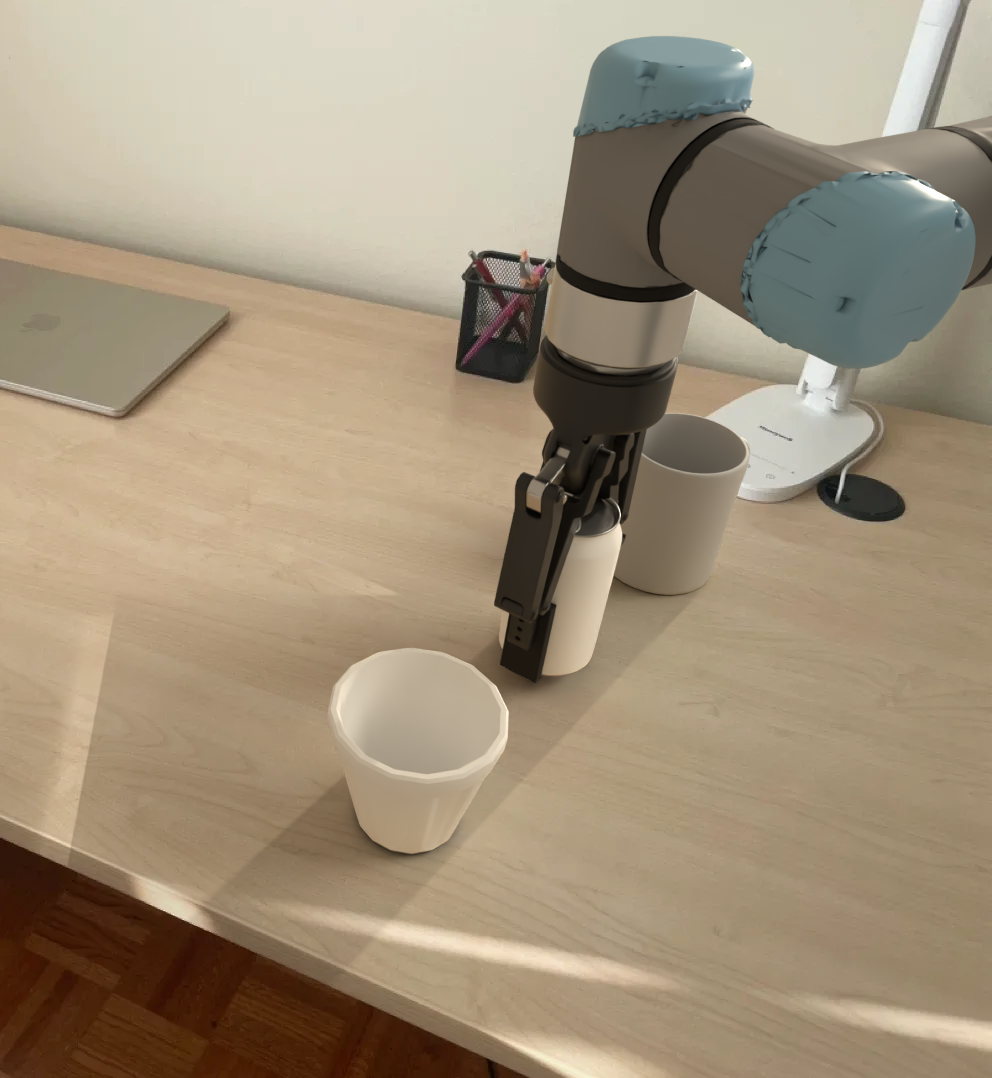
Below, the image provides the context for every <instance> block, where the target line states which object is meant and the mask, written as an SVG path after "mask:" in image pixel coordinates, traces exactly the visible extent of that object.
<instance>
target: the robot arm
mask: <svg viewBox="0 0 992 1078" xmlns="http://www.w3.org/2000/svg"><path fill="white" fill-rule="evenodd" d="M754 76H755V67H754V63H753V62H752V60H751V59H750V58H749V56H747V55H745V54H744V53H743V52H742V51H741V50H740V49H739V48H736V47H735V46H732V45H729V44H726V43H723V42H719V41H716V40H715V41H714V40H710V39H705V38H699V37H698V38H697V37H690V36H689V37H688V36H675V35H650V36H641V37H634V38H628V39H623V40H620V41H617V42H615V43H612V44H610V45H609V46H606V48H605V49H603V50H602V51H601V52H600V53H599V54H598V55H597V56H596V58H595V59H594V61H593V63H592V65H591V67H590V70H589V75H588V78H587V83H586V86H585V90H584V94H583V99H582V103H581V104H582V105H581V108H580V112H579V116H578V120H577V124H576V126H575V127H574V128H573V131H572V132H573V133H572V137H574V141H573V148H572V155H571V160H570V168H569V174H568V179H567V184H566V185H567V186H566V192H565V198H564V205H563V210H562V217H561V223H560V229H559V235H558V241H557V247H556V255H555V256H556V257H555V264H554V267H552V268H551V269H550V270H549V271H548V273H547V274H546V282H547V284H549V285H551V286H550V292H549V299H548V304H547V310H546V316H545V322H544V333H545V335H544V337H543V338H542V339H541V342H540V346H539V352H538V357H537V363H536V369H535V370H536V371H535V376H534V381H533V387H532V391H533V392H532V394H533V398H534V401H535V404H536V405H537V407H539V409H540V410H541V412H543V414H544V415H545V416H546V417H547V418H548V420H549V423H550V424H551V426H552V429H551V430H550V431H549V432H548V433H547V436H546V437H545V441H544V444H543V446H542V450H541V457H542V463H541V466H540V469H539V472H538V473H537V474H536V475H533V474H531V473H528V472H526V471H523V472H521V473H520V474H519V475H518V477H517V478H516V481H515V484H514V509H513V513H512V518H511V523H510V527H509V532H508V537H507V541H506V546H505V550H504V554H503V559H502V563H501V569H500V574H499V577H498V582H497V587H496V592H495V597H494V601H493V606H494V607H495V608H497V609H500V610H502V611H503V610H504V611H506V612H508V613H509V617H508V622H507V628H506V633H505V639H504V644H503V649H502V650H501V656H500V661H499V662H500V663H499V666H500V667H503V668H505V669H506V670H508V671H510V672H512V673H514V674H516V675H517V676H519V677H522V678H523V679H525V680H528V681H529V682H531V683H534V684H537V683H538V681H540V679H541V678H542V675H541V674H542V670H543V665H544V661H545V656H546V652H547V647H548V642H549V638H550V633H551V629H552V624H553V619H554V615H555V610H556V606H557V605H556V604H553V603H551V601H552V598H553V595H554V592H555V589H556V586H557V584H558V581H559V578H560V575H561V572H562V569H563V567H564V564H565V561H566V557H567V555H568V552H569V549H570V547H571V544H572V541H573V538H574V537H573V536H574V535H575V532H576V530H577V527H578V524H579V521H580V518H581V517H583V516H585V515H587V514H589V513H590V512H591V511H592V509H593V506H594V503H595V501H596V498H597V497H598V498H600V499H607V498H612V499H613V500H614V501H615V502H616V504H617V505H618V507H619V509H620V513H621V518H620V522H619V523H620V524H623V523H624V522H625V521H626V520H627V518H628V516H629V514H628V513H629V509H630V504H631V500H632V495H633V491H634V486H635V481H636V477H637V472H638V468H639V463H640V458H641V454H642V449H643V445H644V440H645V435H646V431H647V429H648V428H650V427H651V426H653V425H655V424H656V423H657V422H658V421H659V420H660V419H661V418H662V417H663V415H664V414H665V413H667V408H668V405H669V401H670V398H671V393H672V390H673V386H674V382H675V379H676V374H677V371H678V367H679V358H678V356H679V355H680V354H681V353H682V352H683V350H684V347H685V344H686V342H687V341H686V340H687V336H688V333H689V328H690V324H691V320H692V316H693V312H694V309H695V305H696V301H697V298H698V293H701V294H702V295H704V296H706V297H708V298H709V299H710V300H712V301H714V302H715V303H717V304H719V305H720V306H722V307H723V308H725V309H726V310H729V311H730V312H731V313H732V314H735V315H737V316H738V317H739V318H741V319H742V320H744V321H745V322H748V323H749V324H751V325H752V326H754V327H755V328H756V329H758V330H760V331H761V333H762V334H763V335H765V336H766V337H768V338H771V339H772V340H774V341H775V342H777V343H778V344H786V345H788V346H789V347H791V348H792V349H795V350H800V351H802V352H805V353H806V354H808V355H811V356H813V357H816V358H817V359H819V360H821V361H823V362H825V363H827V364H829V365H832V366H834V367H838V368H842V369H848V370H852V369H853V370H861V369H868V368H869V369H870V368H874V367H878V366H879V365H880V366H881V365H884V364H886V363H888V362H890V361H893V360H894V359H896V358H898V357H899V356H900V355H901V354H902V353H903V351H904V350H905V348H906V347H907V346H908V344H910V343H917V342H920V341H922V340H924V338H925V337H927V335H929V334H930V333H931V332H932V331H933V330H934V329H935V328H936V327H937V326H938V325H939V324H940V322H941V321H942V319H943V318H944V317H945V316H946V314H947V313H948V312H949V310H950V309H951V308H952V307H953V305H954V304H955V302H956V301H957V299H958V297H959V295H960V293H962V291H965V290H970V289H973V288H974V289H975V288H979V287H983V286H987V285H991V284H992V115H988V116H985V117H981V118H977V119H973V120H968V121H964V122H960V123H955V124H951V125H943V126H935V127H929V128H923V129H918V130H914V131H913V130H912V131H907V132H903V133H897V134H892V135H885V136H880V137H875V138H870V139H863V140H859V141H854V142H849V143H843V144H837V145H832V144H822V143H817V142H813V141H810V140H809V139H808V140H807V139H804V138H801V137H798V136H796V135H793V134H790V133H787V132H783V131H782V130H781V131H780V130H777V129H775V128H774V127H772V126H771V125H768V124H766V123H764V122H762V121H760V120H758V119H755V118H753V117H750V116H749V115H748V114H746V113H747V110H748V109H750V108H751V104H752V102H753V101H754V100H753V97H752V95H751V91H752V86H753V82H754ZM564 491H565V492H567V493H570V494H572V495H575V496H582V497H581V500H579V499H577V498H574V497H572V496H570V495H567V494H565V493H564ZM625 538H626V534H623V533H622V542H621V546H622V545H623V543H624V541H625ZM620 548H621V547H620Z"/></svg>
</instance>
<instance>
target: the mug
mask: <svg viewBox="0 0 992 1078" xmlns="http://www.w3.org/2000/svg"><path fill="white" fill-rule="evenodd" d="M750 456H751V446H750V444H749V442H748V440H747V439H746V438H744V437H743V436H741V435H739V434H738V433H737V432H736V431H734V430H733V429H731V428H729V427H728V426H726V425H725V424H723V423H721V422H718V421H716V420H713V419H711V418H708V417H704V416H700V415H697V414H696V415H695V414H691V413H682V412H665V414H664V415H663V417H662V418H661V419H660V420H659V421H658V422H657V423H656V424H655V425H653V426H651V427H650V428H648V429H647V431H646V435H645V440H644V445H643V449H642V454H641V458H640V463H639V468H638V472H637V477H636V481H635V486H634V491H633V495H632V500H631V504H630V509H629V513H628V514H629V516H628V518H627V520H626V521H625V522H624V523H623V524H620V526H621V530H622V533H623V534H626V538H625V541H624V543H623V545H622V546H621V548H620V551H619V555H618V559H617V563H616V567H615V571H614V575H613V577H615V578H616V579H617V580H618V581H620V582H621V583H623V584H625V585H627V586H630V587H632V588H634V589H637V590H639V591H641V592H645V593H650V594H656V595H664V596H674V595H675V596H676V595H683V594H689V593H691V592H694V591H696V590H698V589H699V588H701V587H703V586H704V585H706V583H707V582H708V581H709V579H710V578H711V576H712V574H713V572H714V569H715V566H716V563H717V558H718V556H719V553H720V549H721V546H722V542H723V540H724V538H725V537H724V536H725V533H726V531H727V528H728V524H729V521H730V519H731V515H732V513H733V510H734V507H735V503H736V502H737V501H736V500H737V497H738V494H739V491H740V488H741V485H742V483H743V481H744V477H745V475H746V472H747V469H748V466H749V461H750Z"/></svg>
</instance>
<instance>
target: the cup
mask: <svg viewBox="0 0 992 1078" xmlns="http://www.w3.org/2000/svg"><path fill="white" fill-rule="evenodd" d="M328 703H329V704H328V708H327V725H328V729H329V731H330V735H331V738H332V741H333V744H334V748H335V749H336V751H337V753H338V758H339V760H340V764H341V767H342V771H343V775H344V777H345V781H346V785H347V788H348V792H349V795H350V798H351V801H352V805H353V808H354V811H355V815H356V817H357V818H356V819H357V822H358V824H359V826H360V827H361V829H362V830H363V832H364V833H365V834H366V835H367V836H368V837H369V839H371V840H372V842H373V843H375V844H377V845H379V846H380V847H383V848H384V849H386V850H388V851H390V852H393V853H398V854H405V855H410V856H413V855H417V854H418V855H419V854H423V853H429V852H432V851H433V850H435V849H437V848H438V847H440V846H442V845H444V844H445V843H447V842H448V841H449V840H450V838H451V837H452V835H453V834H454V832H455V830H456V829H457V827H458V825H459V823H460V822H461V820H462V819H463V816H464V815H465V813H466V811H467V809H468V808H469V806H470V805H471V802H473V800H474V797H475V796H476V794H477V792H478V791H479V789H480V787H481V785H482V783H483V782H484V780H485V779H486V777H487V776H489V775H490V774H491V771H493V769H494V767H495V766H496V764H497V762H498V761H499V759H500V758H501V756H502V754H503V753H504V751H505V750H506V747H507V743H508V738H509V737H508V736H509V715H510V714H509V713H510V712H509V710H508V708H507V707H508V706H507V704H505V701H504V698H503V697H502V695H501V693H500V690H499V689H498V686H497V685H496V684H494V683H493V682H492V681H491V680H490V679H489V678H488V677H487V676H485V674H483V673H482V672H481V671H480V670H479V669H477V667H475V666H474V665H473V664H471V663H468V662H466V661H464V660H462V659H459V658H457V657H455V656H453V655H450V654H448V653H446V652H444V651H437V650H431V649H424V648H417V647H416V648H415V647H404V648H396V649H390V650H389V649H388V650H383V651H378V652H376V653H373V654H371V655H370V656H368V657H365V658H364V659H361V660H359V661H357V662H355V663H353V664H351V665H350V666H349V667H348V668H347V670H346V671H344V673H343V674H342V675H341V676H340V677H339V678H338V680H337V681H336V682H335V683H334V684H333V686H332V690H331V695H330V699H329V702H328Z"/></svg>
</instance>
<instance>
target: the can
mask: <svg viewBox="0 0 992 1078" xmlns="http://www.w3.org/2000/svg"><path fill="white" fill-rule="evenodd" d="M564 493H565V494H567V495H570V496H572V497H574V498H577V499H579V500H581V497H582V496H575V495H572V494H570V493H567V492H565V491H564ZM620 518H621V513H620V509H619V507H618V505H617V504H616V502H615V501H614V500H613V499H612V498H607V499H600V498H598V497H597V498H596V501H595V503H594V506H593V509H592V511H591V512H590V513H589V514H587V515H585V516H583V517H581V518H580V521H579V524H578V527H577V530H576V532H575V535H574V536H573V537H574V538H573V541H572V544H571V547H570V549H569V552H568V555H567V557H566V561H565V564H564V567H563V569H562V572H561V575H560V578H559V581H558V584H557V586H556V589H555V592H554V595H553V598H552V601H551V603H553V604H556V605H557V606H556V610H555V615H554V619H553V624H552V629H551V633H550V638H549V642H548V647H547V652H546V656H545V661H544V665H543V670H542V674H541V676H544V677H561V676H562V677H563V676H567V675H570V674H573V673H575V672H578V671H580V670H582V669H583V668H585V667H586V666H587V665H588V664H589V662H590V661H591V659H592V658H593V654H594V651H595V648H596V644H597V640H598V636H599V632H600V629H601V626H602V622H603V617H604V614H605V610H606V606H607V602H608V598H609V594H610V590H611V586H612V583H613V578H614V571H615V567H616V563H617V559H618V555H619V551H620V547H621V542H622V530H621V526H620V523H619V522H620ZM508 617H509V613H508V612H506V611H504V610H502V613H501V619H500V624H499V630H498V641H499V645H500V647H501V649H502V650H503V644H504V639H505V633H506V628H507V622H508Z"/></svg>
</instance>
